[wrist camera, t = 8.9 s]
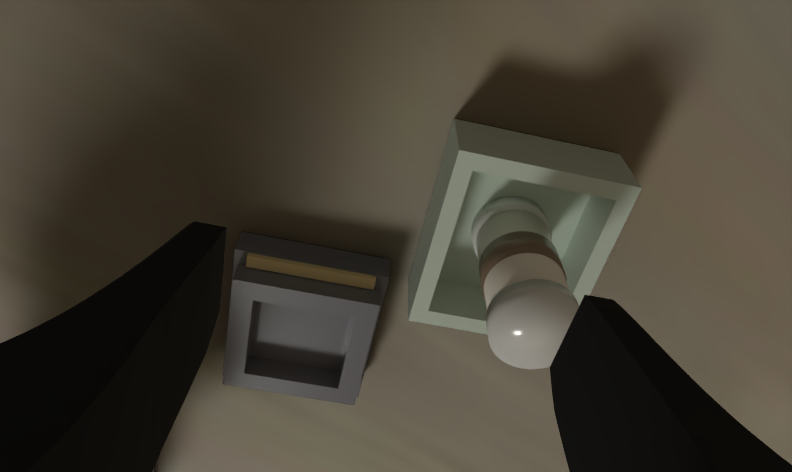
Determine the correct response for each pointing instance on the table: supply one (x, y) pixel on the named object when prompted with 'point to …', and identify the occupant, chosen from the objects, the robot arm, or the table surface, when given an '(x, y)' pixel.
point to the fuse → (521, 282)
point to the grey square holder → (302, 318)
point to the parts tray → (526, 177)
